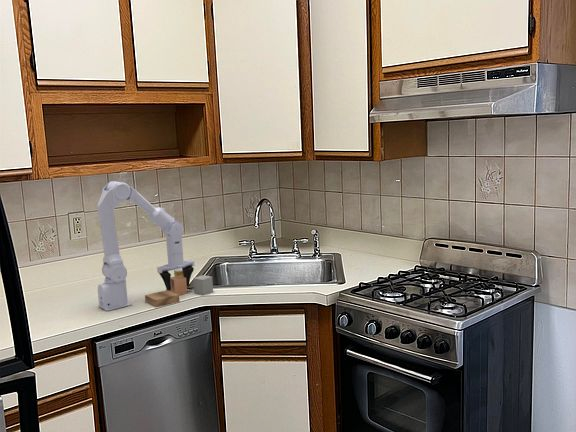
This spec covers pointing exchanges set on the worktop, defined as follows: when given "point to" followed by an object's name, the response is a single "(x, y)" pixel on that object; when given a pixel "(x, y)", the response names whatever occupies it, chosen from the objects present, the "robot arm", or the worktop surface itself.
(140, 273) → the worktop surface
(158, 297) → the walnut slab
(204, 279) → the slate block
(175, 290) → the terracotta block
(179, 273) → the supplement bottle
